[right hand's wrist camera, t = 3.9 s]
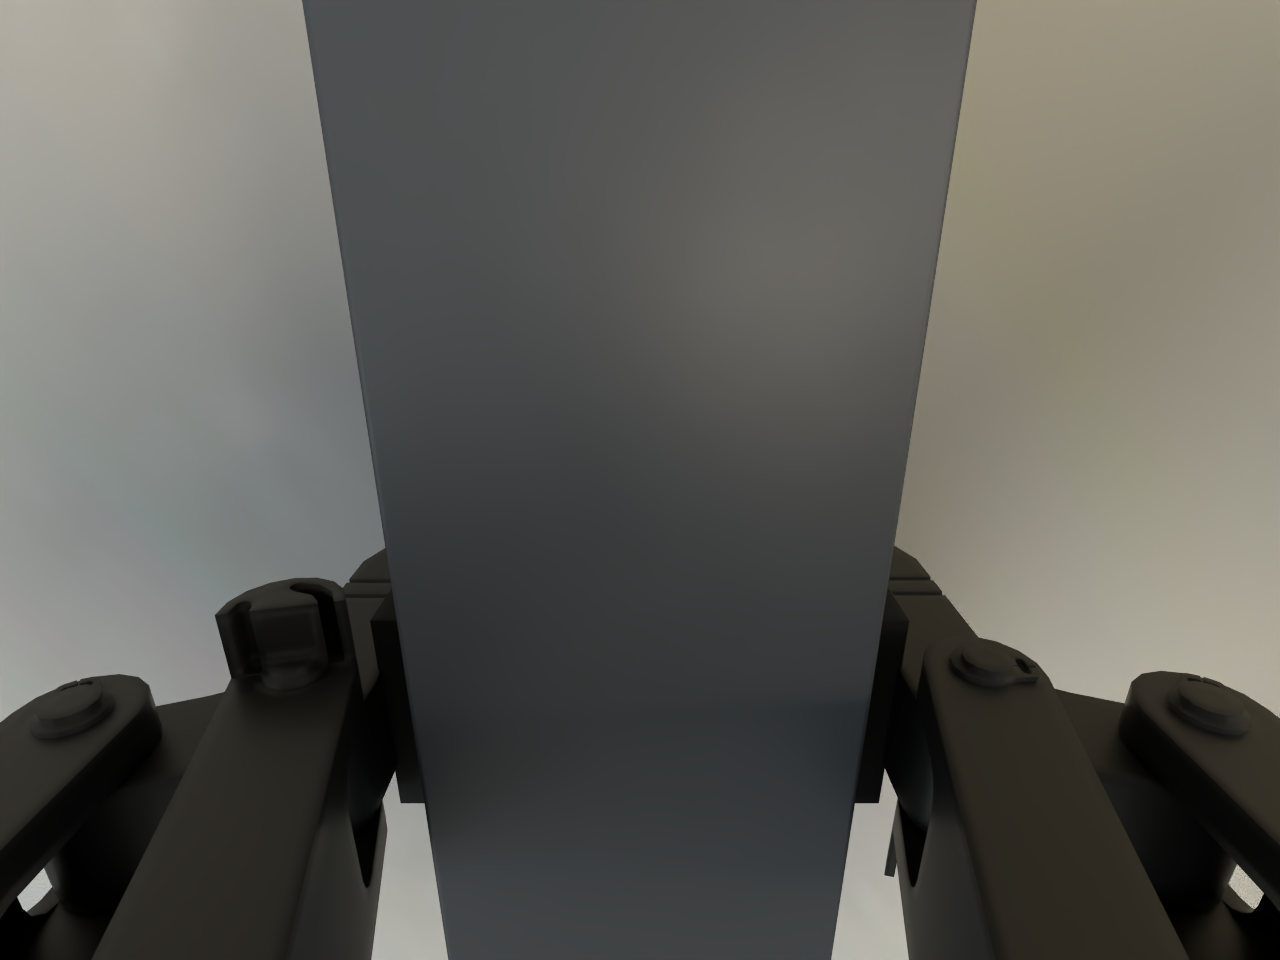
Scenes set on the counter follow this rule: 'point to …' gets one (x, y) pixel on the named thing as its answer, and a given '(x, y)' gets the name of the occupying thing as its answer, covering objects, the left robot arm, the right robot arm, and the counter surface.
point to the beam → (639, 435)
